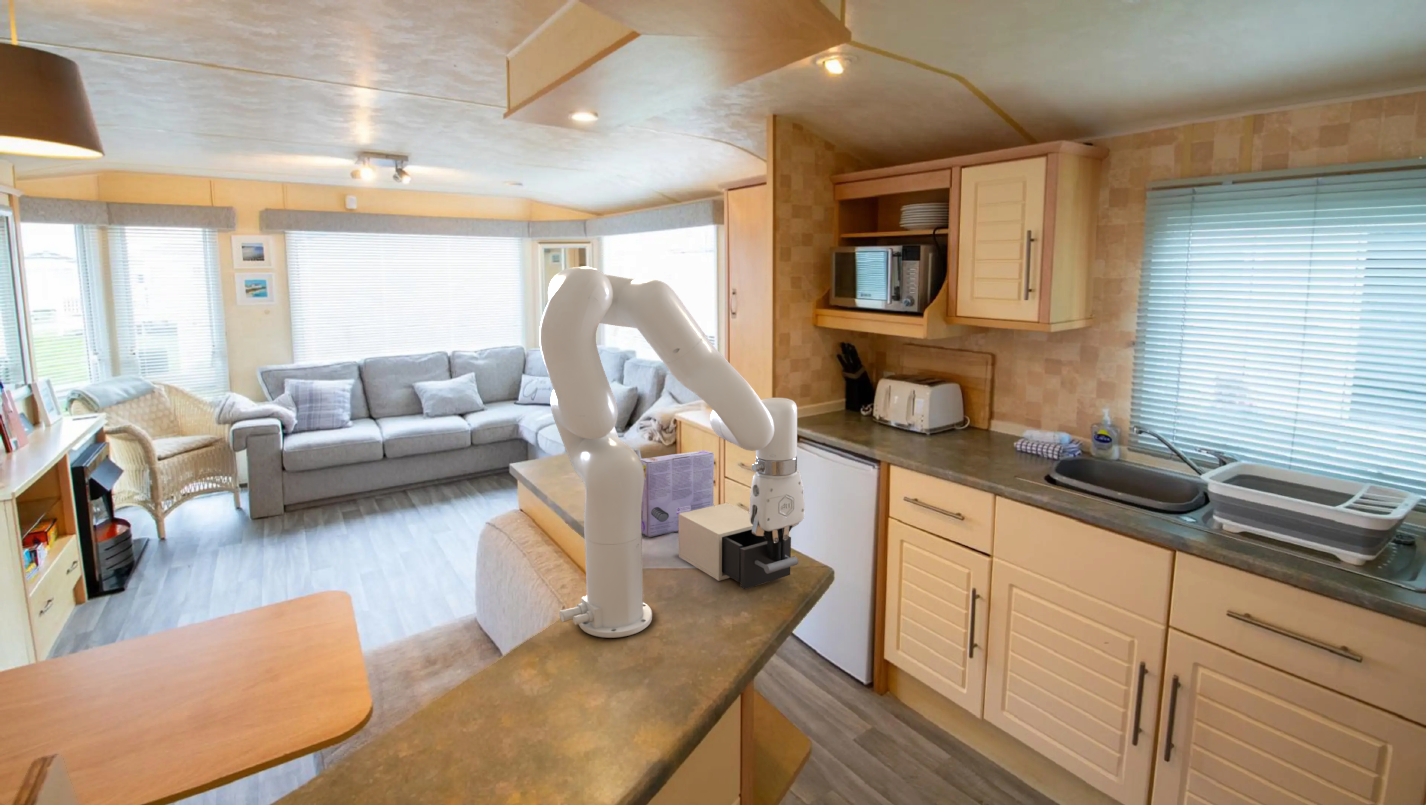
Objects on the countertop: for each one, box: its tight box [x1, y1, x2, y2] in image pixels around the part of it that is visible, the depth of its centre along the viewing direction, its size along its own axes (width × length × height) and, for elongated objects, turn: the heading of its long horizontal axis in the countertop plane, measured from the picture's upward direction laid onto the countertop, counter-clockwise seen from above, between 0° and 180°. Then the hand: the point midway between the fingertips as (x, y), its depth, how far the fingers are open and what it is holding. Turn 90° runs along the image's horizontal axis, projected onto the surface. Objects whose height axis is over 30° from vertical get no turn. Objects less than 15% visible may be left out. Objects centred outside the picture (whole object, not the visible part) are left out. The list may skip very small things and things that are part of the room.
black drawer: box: [722, 530, 799, 590], centre depth 136 cm, size 18×11×8 cm, turn 35°
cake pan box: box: [640, 450, 715, 538], centre depth 163 cm, size 19×5×18 cm, turn 123°
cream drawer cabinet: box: [678, 502, 753, 582], centre depth 144 cm, size 15×13×10 cm
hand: (776, 559), depth 131 cm, fingers closed
